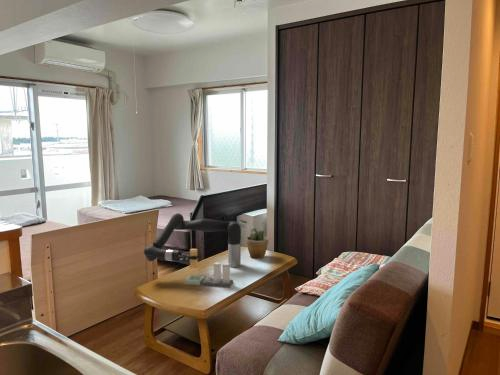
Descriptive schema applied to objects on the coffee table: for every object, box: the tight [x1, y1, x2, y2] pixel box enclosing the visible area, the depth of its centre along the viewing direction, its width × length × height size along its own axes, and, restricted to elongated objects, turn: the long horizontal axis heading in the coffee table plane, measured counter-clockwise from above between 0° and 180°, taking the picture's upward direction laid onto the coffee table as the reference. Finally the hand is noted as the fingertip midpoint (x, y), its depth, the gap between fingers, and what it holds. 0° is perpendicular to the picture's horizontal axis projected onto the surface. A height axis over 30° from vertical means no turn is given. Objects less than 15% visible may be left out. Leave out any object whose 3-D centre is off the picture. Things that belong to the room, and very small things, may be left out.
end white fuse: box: [222, 262, 231, 283], centre depth 245 cm, size 3×4×12 cm
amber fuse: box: [189, 248, 199, 269], centre depth 248 cm, size 3×4×12 cm
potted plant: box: [245, 226, 270, 260], centre depth 303 cm, size 18×19×25 cm
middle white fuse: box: [213, 261, 222, 282], centre depth 246 cm, size 3×4×12 cm
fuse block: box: [201, 275, 234, 288], centre depth 247 cm, size 9×19×4 cm, turn 78°
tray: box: [184, 274, 206, 287], centre depth 250 cm, size 10×10×3 cm
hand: (197, 257), depth 247 cm, fingers closed on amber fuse, 3 cm apart
